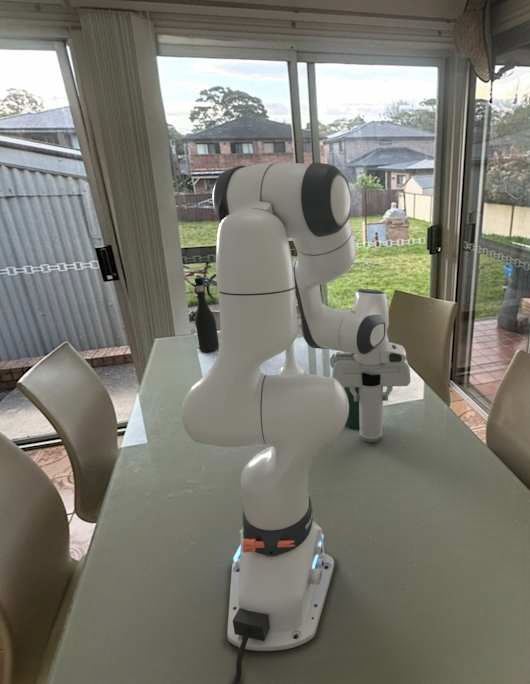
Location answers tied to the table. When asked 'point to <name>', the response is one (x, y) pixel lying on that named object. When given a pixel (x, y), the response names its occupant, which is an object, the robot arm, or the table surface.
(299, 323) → the flower vase
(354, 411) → the green bottle
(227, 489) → the table surface
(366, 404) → the travel mug
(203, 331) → the wine bottle
